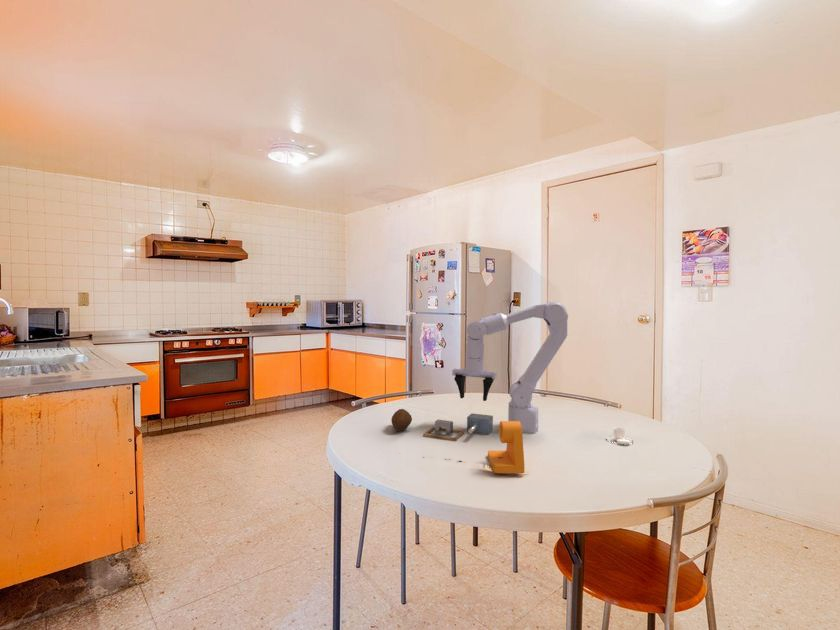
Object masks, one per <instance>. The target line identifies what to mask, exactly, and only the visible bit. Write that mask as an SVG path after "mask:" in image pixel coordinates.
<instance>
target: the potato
mask: <svg viewBox="0 0 840 630" xmlns="http://www.w3.org/2000/svg"><path fill="white" fill-rule="evenodd" d="M412 421H413V418H412V415H411V414H410V412H409V411H408V410H406V409H403V408H399V409H398V410H397V411H395V412H394V413H393V415H392V417H391V425H392V427H393V428H394V429H395V430H396V431H398V432H401V431H405V430H406V429H408V427H409V426H410V424H411V423H412Z"/></svg>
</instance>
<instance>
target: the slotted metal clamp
mask: <svg viewBox="0 0 840 630" xmlns="http://www.w3.org/2000/svg"><path fill="white" fill-rule="evenodd" d="M434 427H435V430H434V435H441V436H442V434H443V431H442V428H446V432H445V436H448V437H453V435H454V433H453V429H454V421H453V420H444V419H436V420H435V421H434Z"/></svg>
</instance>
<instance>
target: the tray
mask: <svg viewBox="0 0 840 630" xmlns="http://www.w3.org/2000/svg"><path fill="white" fill-rule="evenodd" d="M432 432H435V426H432V427H431V428H430V429H428V430H426V431H425V432H423V434H422V437H423V438H431V439H437V440H445V441H451V442H452V441H453V442H457V441H458V440H459V439H460V438H461V437H462V436H463V435H465V430H464V429H463V430H461V429H454V428H453V434H457V435H455V436H454V437H453V436H451V437H448V436H446V435H442V434H441V435H435V434H432ZM442 432H444V433H446V427H442Z"/></svg>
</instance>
